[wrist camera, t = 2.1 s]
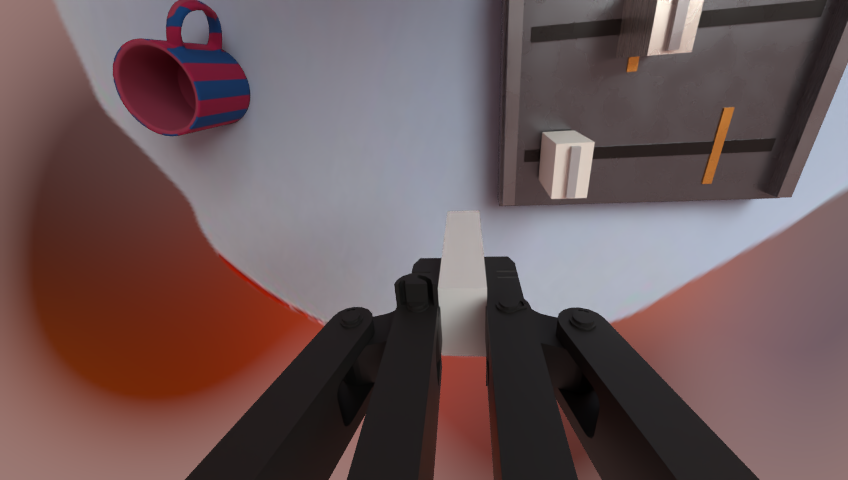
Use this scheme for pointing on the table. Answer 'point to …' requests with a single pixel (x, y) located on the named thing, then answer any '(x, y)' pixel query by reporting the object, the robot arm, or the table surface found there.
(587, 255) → the table surface
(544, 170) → the fader tab
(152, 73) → the mug
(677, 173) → the console
